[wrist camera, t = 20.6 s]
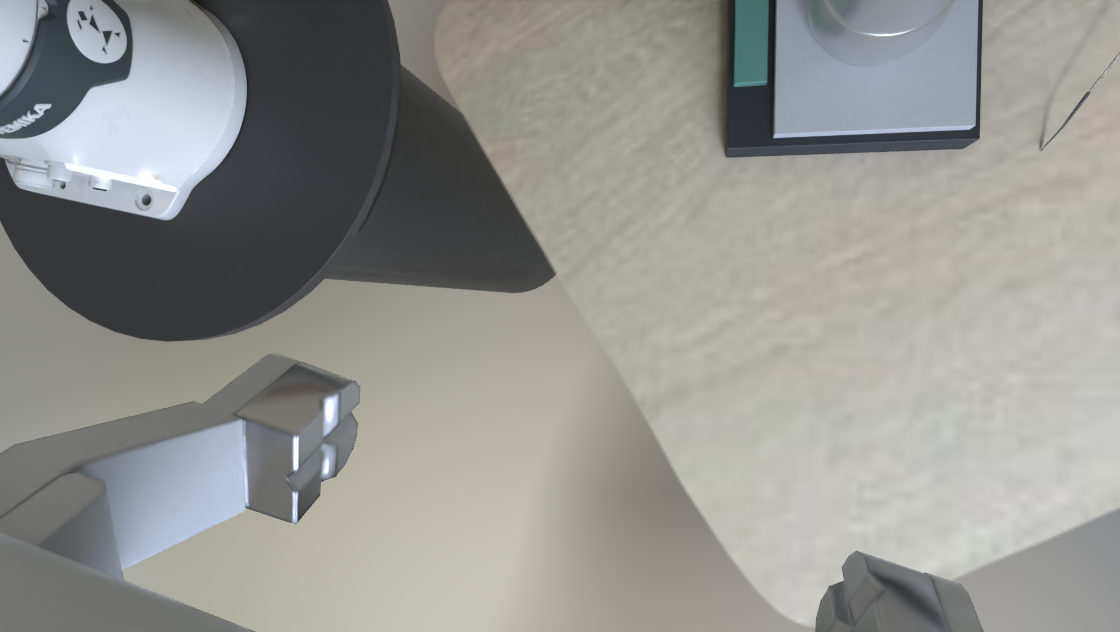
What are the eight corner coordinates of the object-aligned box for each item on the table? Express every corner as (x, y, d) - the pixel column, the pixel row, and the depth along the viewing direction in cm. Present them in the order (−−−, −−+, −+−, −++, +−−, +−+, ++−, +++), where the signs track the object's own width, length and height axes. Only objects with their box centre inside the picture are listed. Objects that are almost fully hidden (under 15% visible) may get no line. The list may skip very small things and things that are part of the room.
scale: (725, 157, 39) (727, 145, 36) (729, -58, 39) (731, -88, 36) (963, 148, 36) (986, 134, 33) (968, -84, 36) (992, -119, 33)
